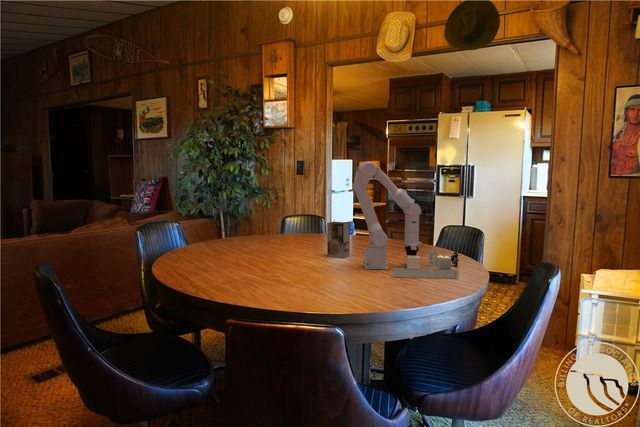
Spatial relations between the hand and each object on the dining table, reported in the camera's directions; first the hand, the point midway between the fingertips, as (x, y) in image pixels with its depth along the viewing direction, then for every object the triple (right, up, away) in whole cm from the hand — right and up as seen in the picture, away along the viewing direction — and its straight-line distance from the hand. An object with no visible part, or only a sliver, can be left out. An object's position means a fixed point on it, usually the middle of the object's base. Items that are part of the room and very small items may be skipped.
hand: (410, 263), depth 178 cm
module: (-1, -2, -8) cm, 9 cm away
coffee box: (-29, +1, +22) cm, 37 cm away
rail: (+2, -3, -15) cm, 15 cm away
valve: (+14, -2, +3) cm, 14 cm away
